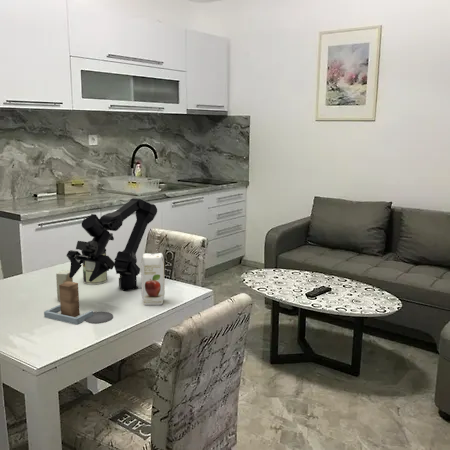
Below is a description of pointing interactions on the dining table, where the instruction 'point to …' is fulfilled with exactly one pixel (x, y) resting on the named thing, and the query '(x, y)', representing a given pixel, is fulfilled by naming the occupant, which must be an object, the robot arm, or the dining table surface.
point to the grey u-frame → (54, 315)
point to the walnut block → (69, 299)
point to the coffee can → (87, 272)
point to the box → (62, 280)
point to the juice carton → (152, 279)
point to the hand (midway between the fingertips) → (79, 279)
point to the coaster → (100, 317)
